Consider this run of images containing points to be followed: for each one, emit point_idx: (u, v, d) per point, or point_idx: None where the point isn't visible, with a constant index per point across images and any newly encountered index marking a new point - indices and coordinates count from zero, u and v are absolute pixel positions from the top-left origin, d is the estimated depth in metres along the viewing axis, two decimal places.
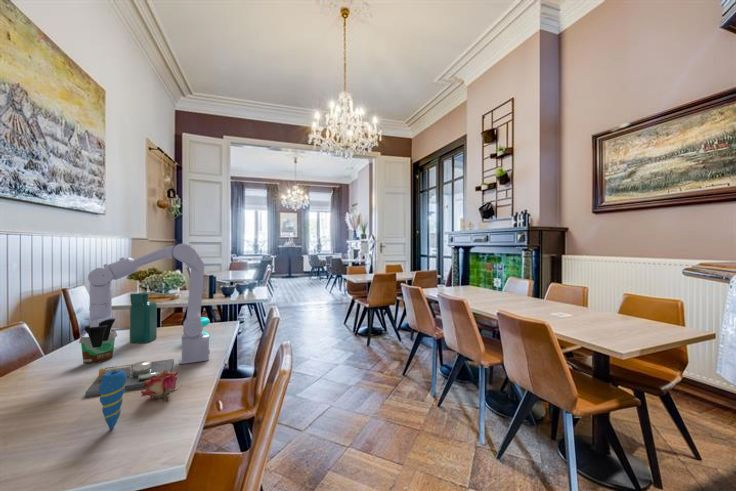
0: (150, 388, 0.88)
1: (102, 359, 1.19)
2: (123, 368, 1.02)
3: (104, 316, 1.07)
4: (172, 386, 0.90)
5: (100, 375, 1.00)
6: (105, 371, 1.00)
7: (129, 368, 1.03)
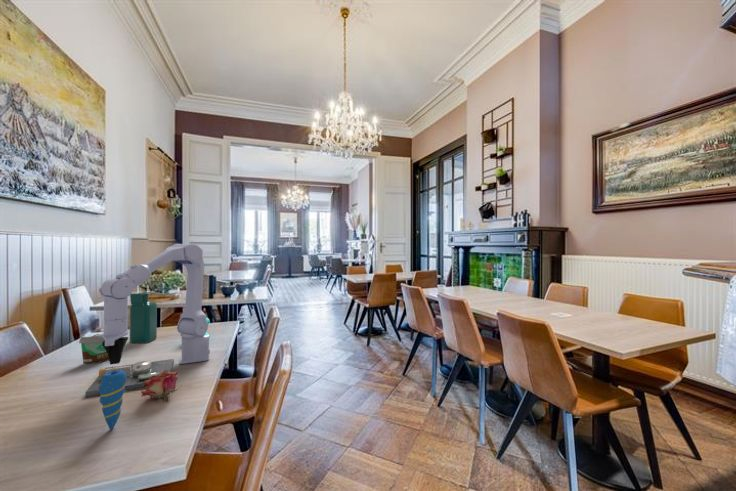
0: (150, 388, 0.88)
1: (102, 359, 1.19)
2: (123, 368, 1.02)
3: (120, 333, 0.96)
4: (172, 386, 0.90)
5: (100, 375, 1.00)
6: (105, 371, 1.00)
7: (129, 368, 1.03)
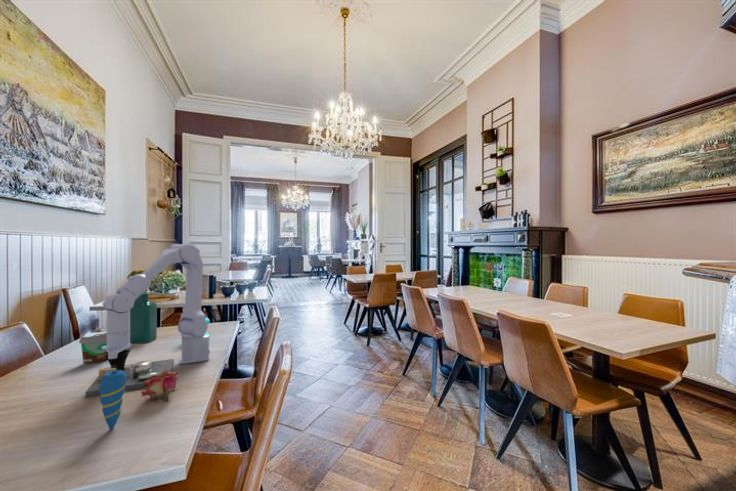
0: (150, 388, 0.88)
1: (102, 359, 1.19)
2: None
3: (122, 345, 0.99)
4: (172, 386, 0.90)
5: (100, 375, 1.00)
6: (105, 371, 1.00)
7: (129, 368, 1.03)
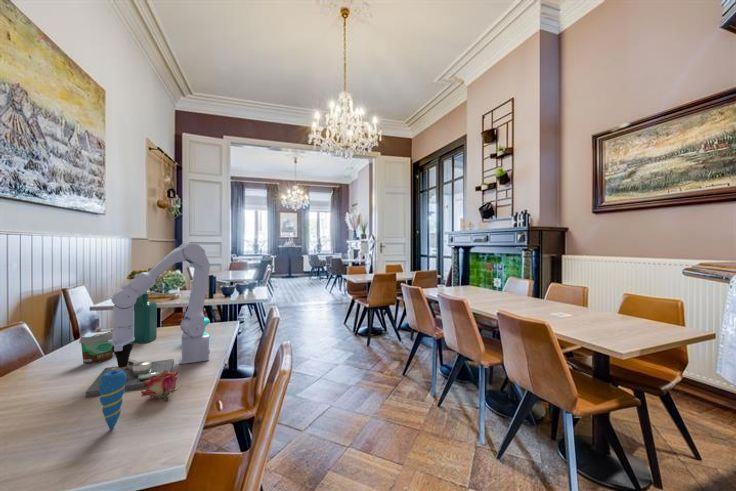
0: (150, 388, 0.88)
1: (102, 359, 1.19)
2: (132, 363, 1.07)
3: (127, 339, 1.06)
4: (172, 386, 0.90)
5: None
6: None
7: None
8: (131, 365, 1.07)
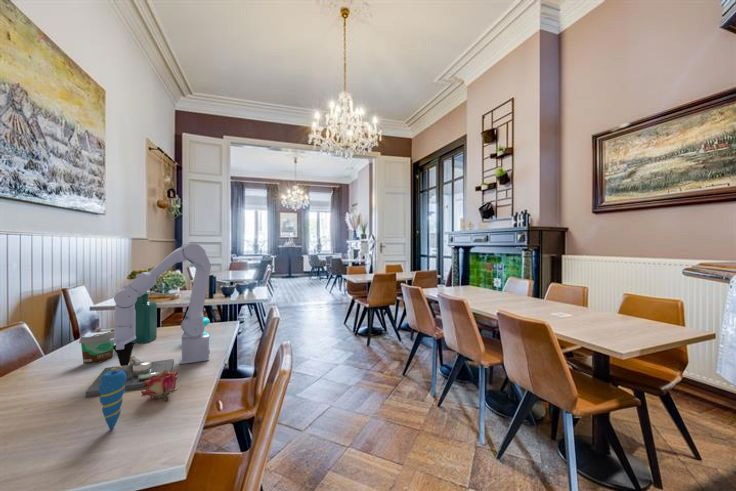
0: (150, 388, 0.88)
1: (102, 359, 1.19)
2: (135, 362, 1.08)
3: (129, 337, 1.07)
4: (172, 386, 0.90)
5: (129, 362, 1.11)
6: (130, 359, 1.10)
7: None
8: (134, 364, 1.08)
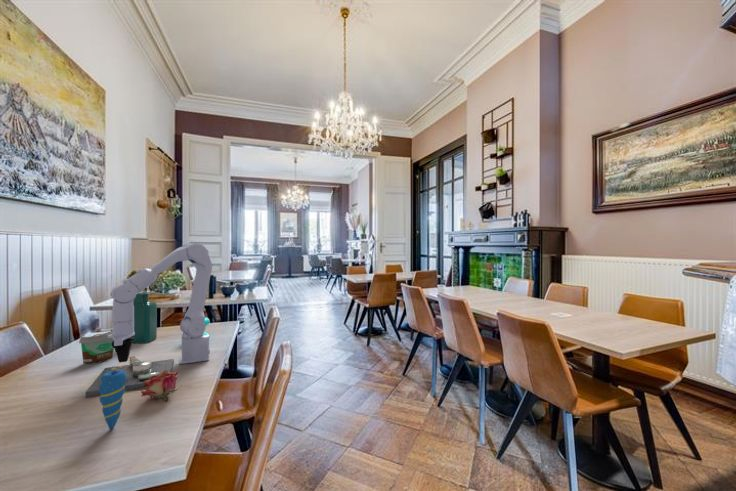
0: (150, 388, 0.88)
1: (102, 359, 1.19)
2: (135, 362, 1.08)
3: (127, 333, 1.05)
4: (172, 386, 0.90)
5: None
6: (131, 359, 1.10)
7: None
8: (134, 364, 1.08)
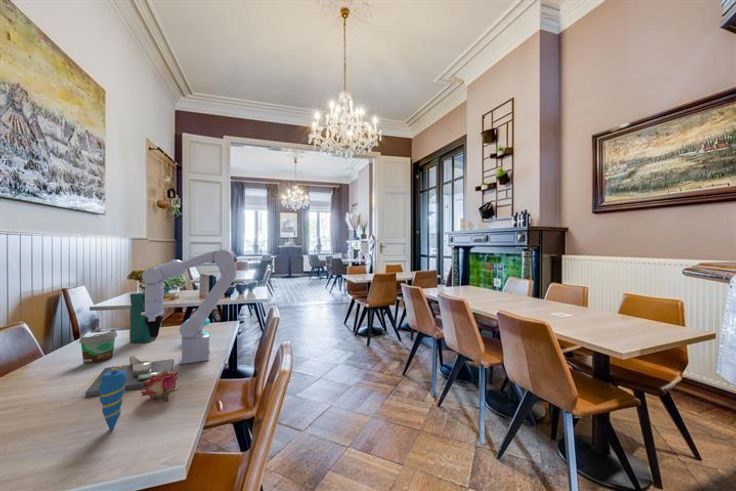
0: (150, 388, 0.88)
1: (102, 359, 1.19)
2: (135, 362, 1.08)
3: (158, 311, 1.18)
4: (172, 386, 0.90)
5: None
6: (131, 359, 1.10)
7: None
8: (134, 364, 1.08)
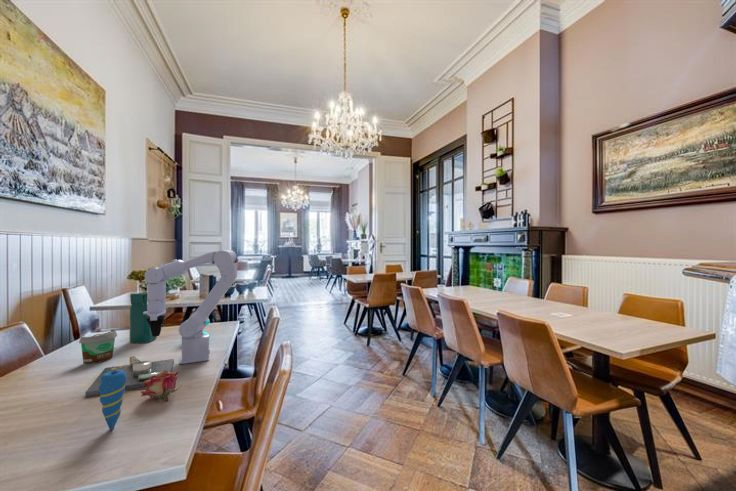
0: (150, 388, 0.88)
1: (102, 359, 1.19)
2: (135, 362, 1.08)
3: (160, 311, 1.19)
4: (172, 386, 0.90)
5: None
6: (131, 359, 1.10)
7: None
8: (134, 364, 1.08)
